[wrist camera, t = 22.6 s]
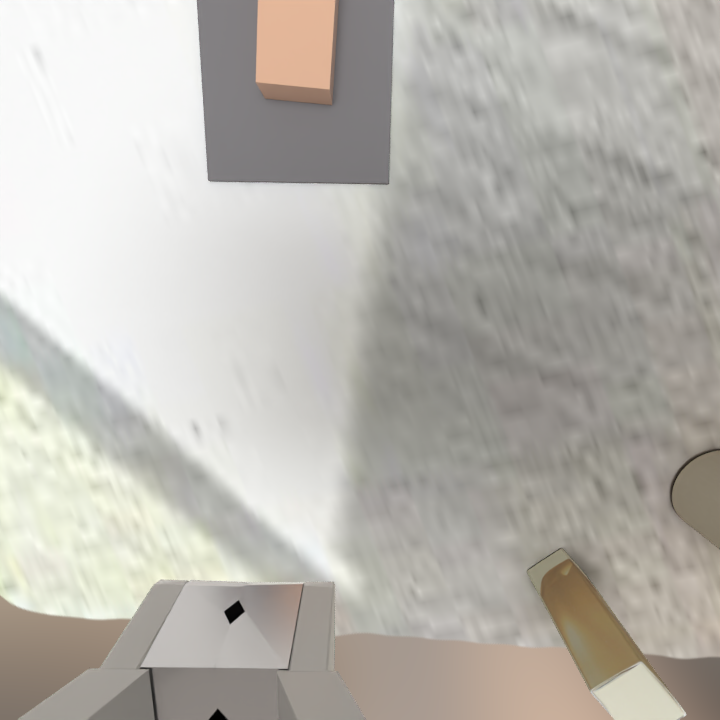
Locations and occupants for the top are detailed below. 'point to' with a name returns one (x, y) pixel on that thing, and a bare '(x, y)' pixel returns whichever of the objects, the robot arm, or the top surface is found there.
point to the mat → (297, 119)
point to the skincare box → (601, 644)
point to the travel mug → (700, 496)
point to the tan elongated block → (297, 49)
